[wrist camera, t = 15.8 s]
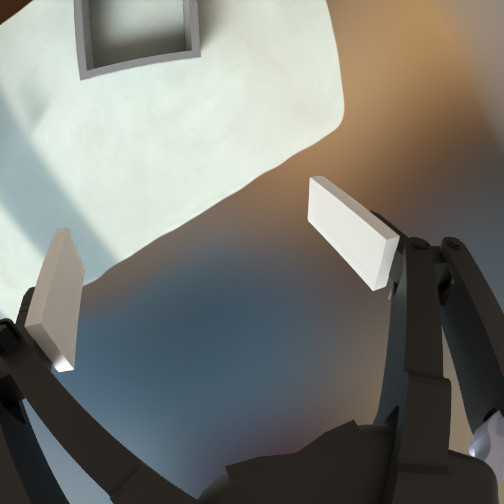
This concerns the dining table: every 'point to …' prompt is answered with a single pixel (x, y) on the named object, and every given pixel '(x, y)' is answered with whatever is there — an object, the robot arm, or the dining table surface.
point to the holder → (88, 64)
